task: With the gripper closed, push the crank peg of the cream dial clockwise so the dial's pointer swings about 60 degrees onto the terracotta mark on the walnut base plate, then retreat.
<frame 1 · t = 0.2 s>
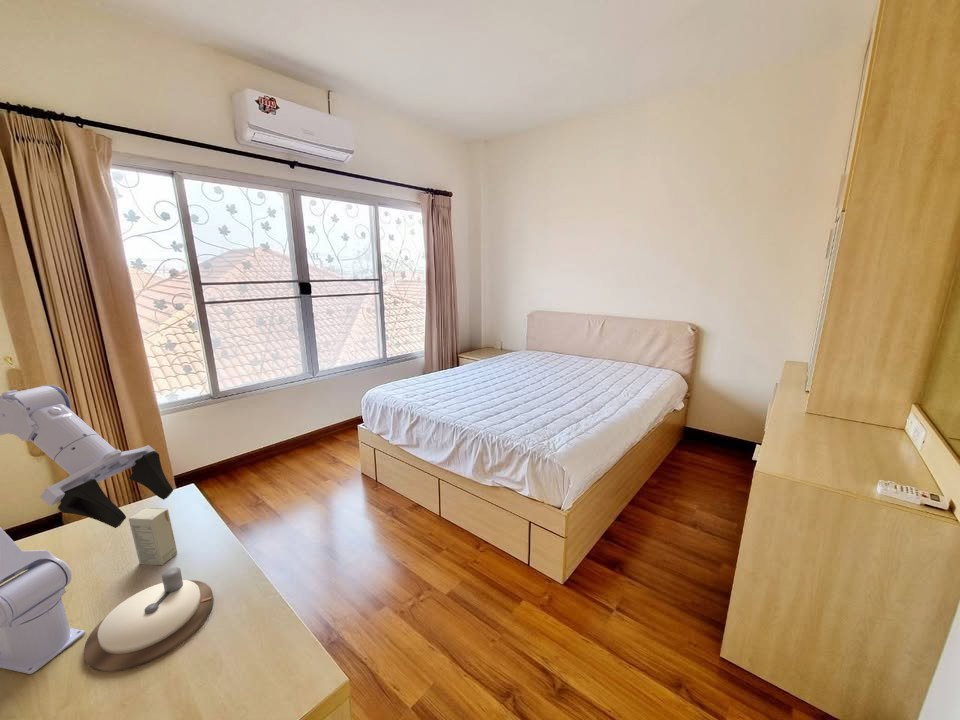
hand: (146, 508, 59), 31 cm above the table, tool tilted 45°, fingers open, 7 cm apart
dial base: (154, 623, 74), on the table
dial: (151, 605, 73), point 4 cm above the table, hinge at 0.0°
skincare box: (158, 559, 91), on the table
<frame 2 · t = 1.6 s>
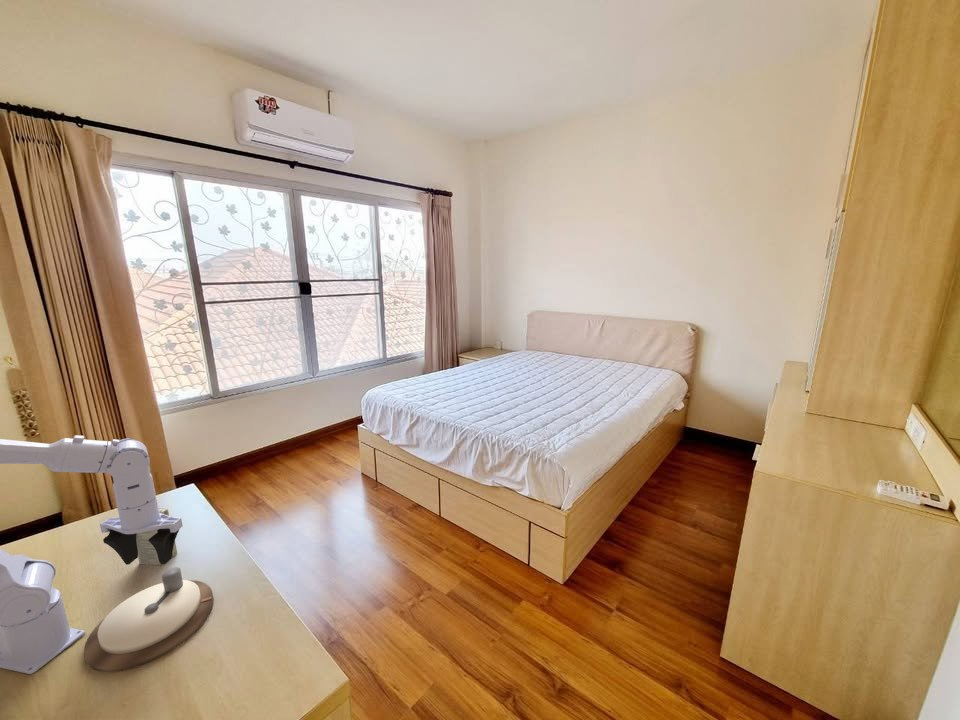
hand: (149, 561, 78), 9 cm above the table, tool pointing down, fingers open, 6 cm apart
nothing on the table moved.
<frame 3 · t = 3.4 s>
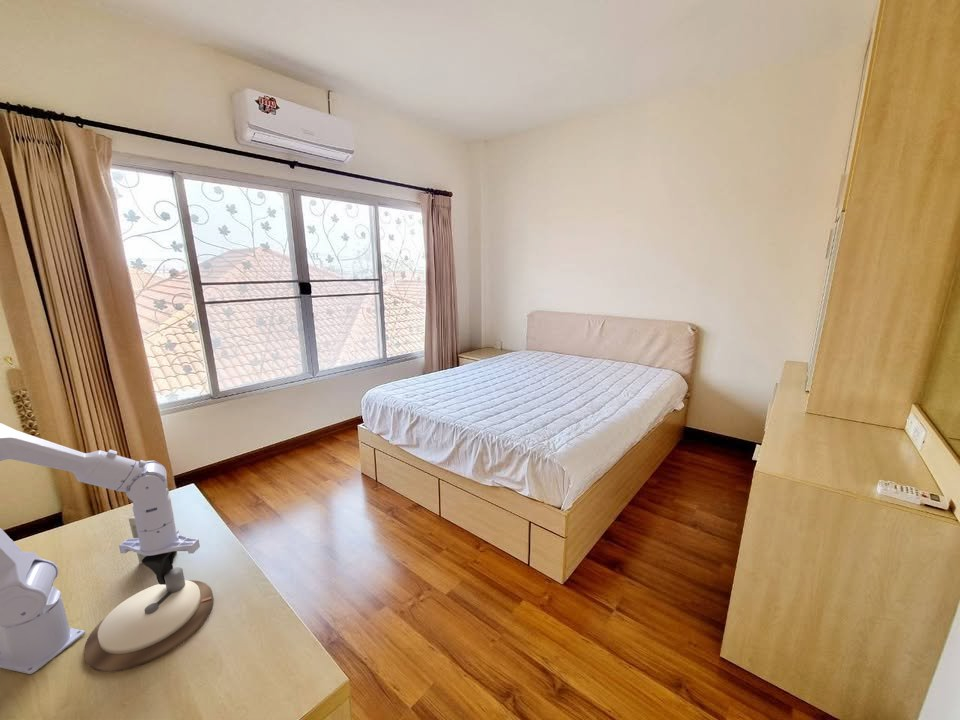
hand: (166, 580, 79), 4 cm above the table, tool pointing down, fingers closed, pressing on dial
dial: (151, 605, 73), point 4 cm above the table, hinge at -5.1°, touching gripper
everything else where it was.
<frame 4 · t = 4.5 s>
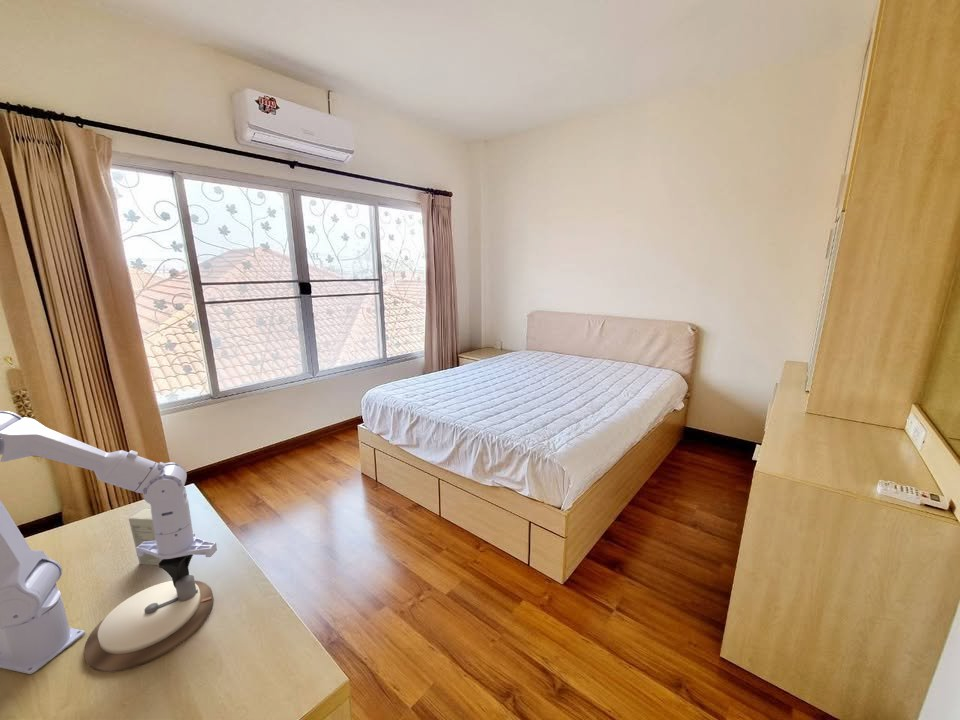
hand: (182, 584, 78), 4 cm above the table, tool pointing down, fingers closed, pressing on dial
dial: (151, 605, 73), point 4 cm above the table, hinge at -51.9°, touching gripper
everything else where it was.
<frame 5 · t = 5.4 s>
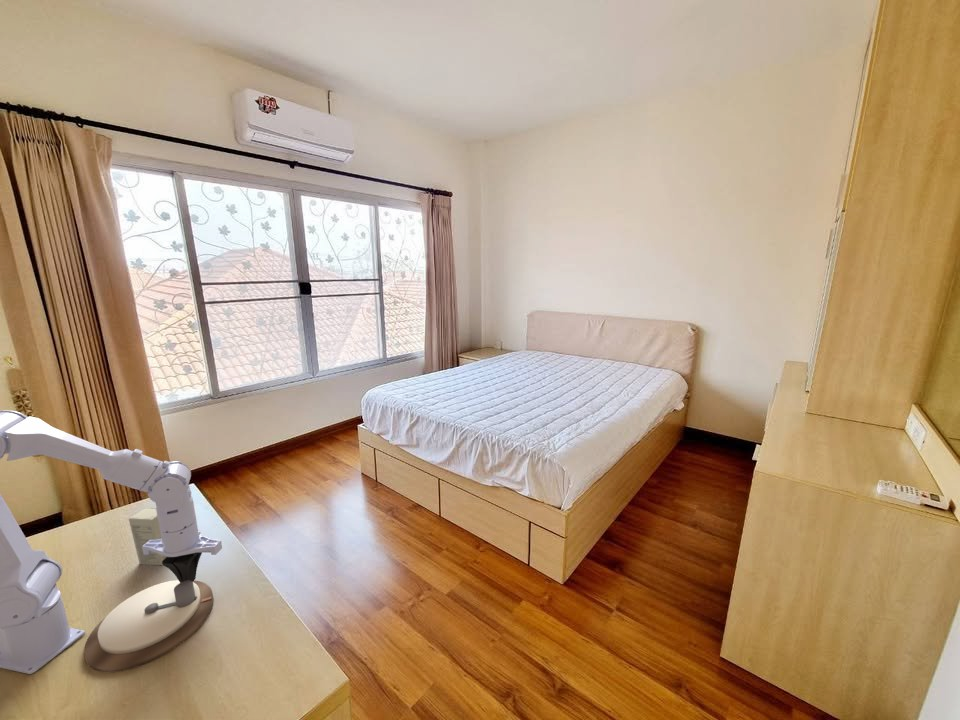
hand: (189, 582, 79), 4 cm above the table, tool pointing down, fingers closed
dial: (151, 605, 73), point 4 cm above the table, hinge at -68.6°
everything else where it was.
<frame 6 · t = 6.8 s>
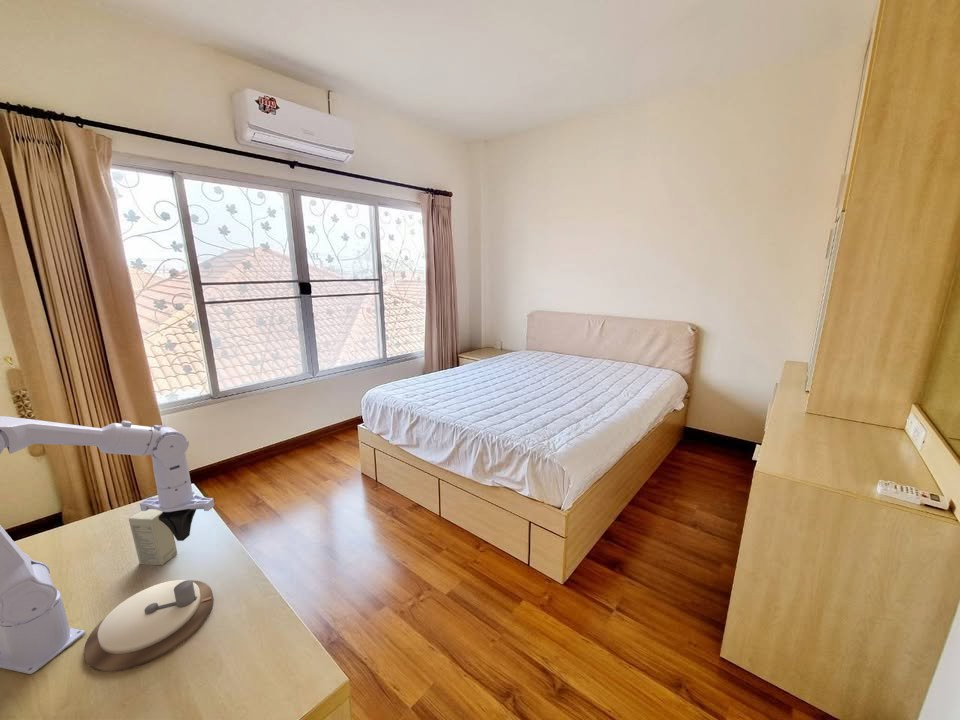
hand: (183, 537, 85), 9 cm above the table, tool pointing down, fingers closed
nothing on the table moved.
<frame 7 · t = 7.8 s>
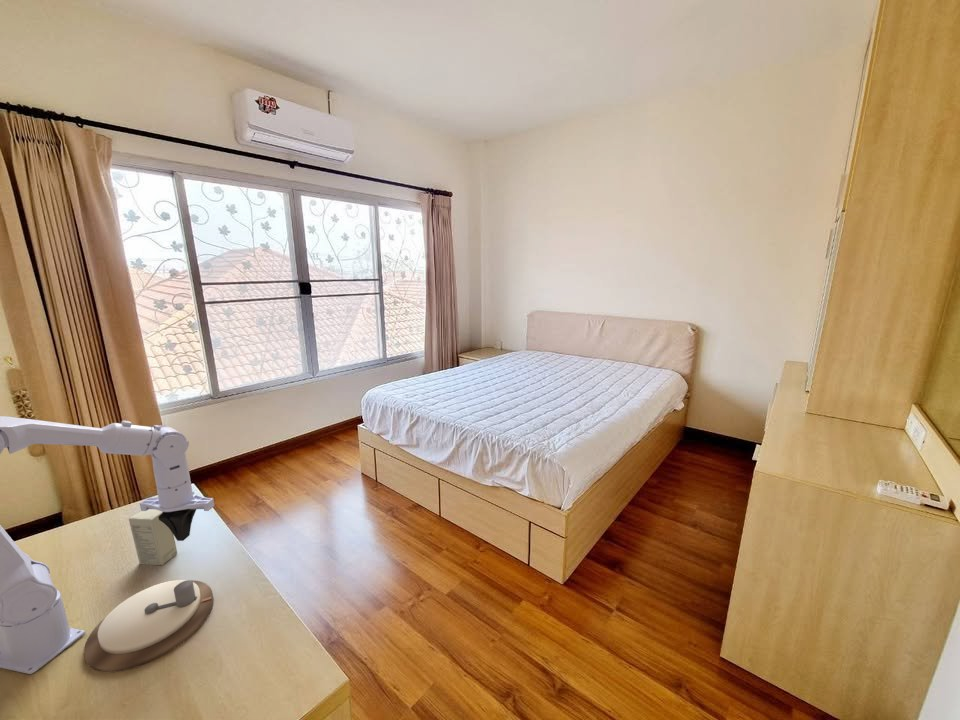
hand: (183, 537, 85), 9 cm above the table, tool pointing down, fingers closed
nothing on the table moved.
at the end: dial at -69° (first picture: +0°) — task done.
